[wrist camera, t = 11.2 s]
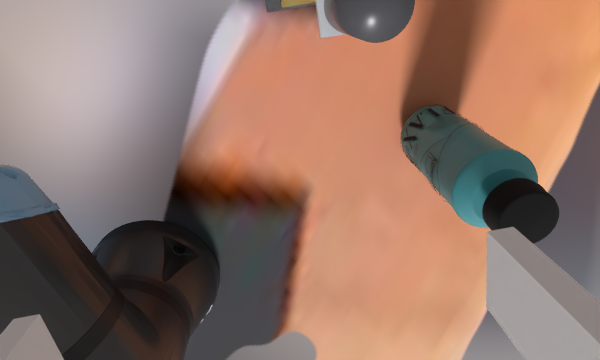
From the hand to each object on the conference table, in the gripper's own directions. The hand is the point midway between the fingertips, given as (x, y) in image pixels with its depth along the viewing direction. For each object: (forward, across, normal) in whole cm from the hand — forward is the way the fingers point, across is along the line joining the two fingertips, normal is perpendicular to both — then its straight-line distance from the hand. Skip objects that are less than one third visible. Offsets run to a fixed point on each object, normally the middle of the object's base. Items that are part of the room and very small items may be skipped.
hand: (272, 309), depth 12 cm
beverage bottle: (+31, +16, -6) cm, 36 cm away
